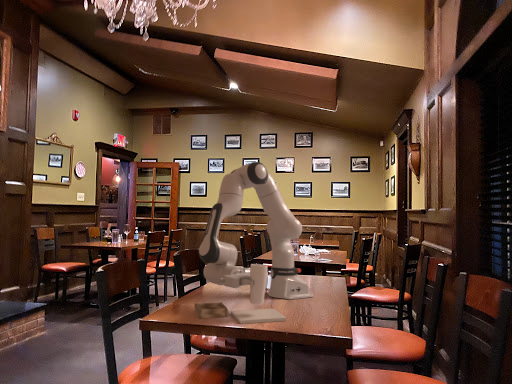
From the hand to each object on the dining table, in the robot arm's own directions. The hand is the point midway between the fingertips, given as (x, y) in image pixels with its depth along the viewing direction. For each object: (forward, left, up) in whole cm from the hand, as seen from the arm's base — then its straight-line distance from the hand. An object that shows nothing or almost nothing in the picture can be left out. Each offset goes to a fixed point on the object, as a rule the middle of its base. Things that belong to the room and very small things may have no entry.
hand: (259, 281), depth 145 cm
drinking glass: (+1, -1, -9) cm, 9 cm away
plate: (0, -1, -14) cm, 14 cm away
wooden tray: (+17, -10, -14) cm, 24 cm away
